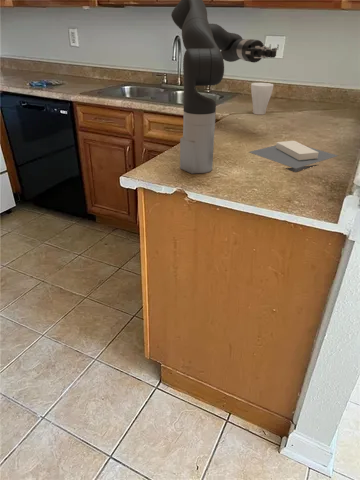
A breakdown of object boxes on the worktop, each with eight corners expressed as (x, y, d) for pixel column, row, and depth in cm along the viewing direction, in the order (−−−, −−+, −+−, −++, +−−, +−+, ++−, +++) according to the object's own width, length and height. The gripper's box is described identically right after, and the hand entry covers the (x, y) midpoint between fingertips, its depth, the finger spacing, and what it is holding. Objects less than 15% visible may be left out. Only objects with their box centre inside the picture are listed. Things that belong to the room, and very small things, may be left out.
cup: (269, 116, 182) (273, 86, 175) (247, 115, 183) (250, 85, 177) (269, 111, 191) (273, 83, 184) (248, 110, 192) (251, 82, 186)
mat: (295, 172, 115) (295, 168, 115) (248, 155, 129) (248, 151, 129) (337, 159, 127) (338, 155, 126) (290, 144, 141) (290, 141, 140)
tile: (276, 142, 131) (299, 154, 120) (294, 140, 133) (318, 152, 122) (275, 148, 132) (298, 161, 121) (293, 146, 134) (317, 159, 123)
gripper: (235, 39, 139) (257, 41, 125) (266, 39, 143) (292, 41, 128) (233, 61, 143) (255, 66, 129) (264, 61, 146) (289, 65, 132)
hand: (273, 54), depth 128 cm, fingers closed
